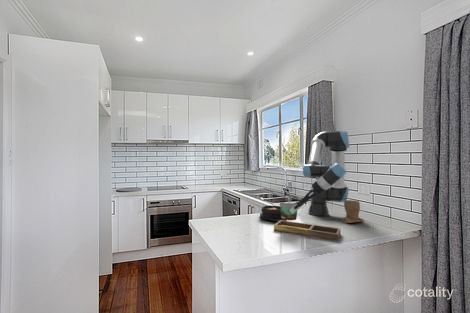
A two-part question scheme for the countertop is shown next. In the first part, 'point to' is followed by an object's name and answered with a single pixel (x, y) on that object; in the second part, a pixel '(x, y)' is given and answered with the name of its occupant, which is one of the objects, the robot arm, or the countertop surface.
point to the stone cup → (352, 211)
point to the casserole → (271, 213)
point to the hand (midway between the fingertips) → (293, 210)
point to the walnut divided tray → (308, 230)
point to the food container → (287, 211)
